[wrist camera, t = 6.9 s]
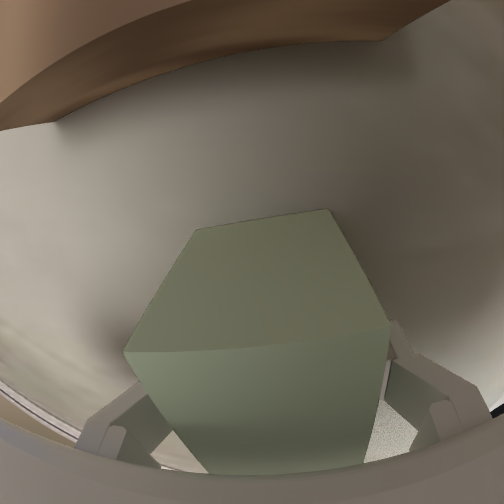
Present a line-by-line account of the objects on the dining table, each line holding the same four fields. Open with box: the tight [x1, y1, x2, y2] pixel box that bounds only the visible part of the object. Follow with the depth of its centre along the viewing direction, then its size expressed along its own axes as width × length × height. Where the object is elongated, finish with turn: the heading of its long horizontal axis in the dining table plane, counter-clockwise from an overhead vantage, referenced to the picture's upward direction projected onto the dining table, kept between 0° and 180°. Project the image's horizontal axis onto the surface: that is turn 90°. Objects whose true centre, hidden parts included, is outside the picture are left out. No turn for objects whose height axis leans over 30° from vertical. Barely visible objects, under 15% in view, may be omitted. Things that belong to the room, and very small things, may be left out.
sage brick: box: [122, 209, 391, 475], centre depth 8 cm, size 4×7×6 cm, turn 11°
